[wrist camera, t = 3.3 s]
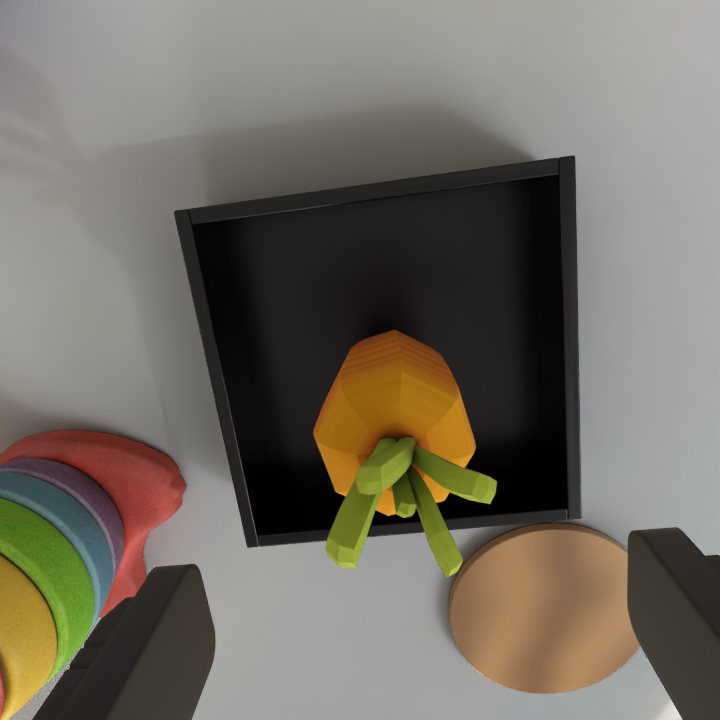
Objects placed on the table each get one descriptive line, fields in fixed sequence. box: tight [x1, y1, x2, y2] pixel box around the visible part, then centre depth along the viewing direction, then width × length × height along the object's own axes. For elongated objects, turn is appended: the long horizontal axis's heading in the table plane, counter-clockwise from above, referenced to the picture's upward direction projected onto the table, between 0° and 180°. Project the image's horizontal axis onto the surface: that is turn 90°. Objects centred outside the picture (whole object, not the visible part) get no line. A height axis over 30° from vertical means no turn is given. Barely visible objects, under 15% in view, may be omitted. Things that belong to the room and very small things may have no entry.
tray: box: [174, 156, 582, 548], centre depth 24 cm, size 15×15×4 cm
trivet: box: [448, 523, 640, 693], centre depth 30 cm, size 11×11×1 cm
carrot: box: [313, 330, 497, 577], centre depth 19 cm, size 5×5×15 cm
